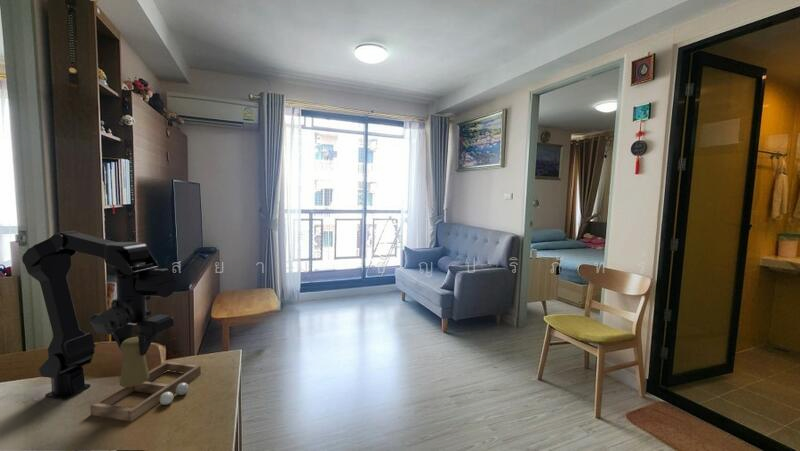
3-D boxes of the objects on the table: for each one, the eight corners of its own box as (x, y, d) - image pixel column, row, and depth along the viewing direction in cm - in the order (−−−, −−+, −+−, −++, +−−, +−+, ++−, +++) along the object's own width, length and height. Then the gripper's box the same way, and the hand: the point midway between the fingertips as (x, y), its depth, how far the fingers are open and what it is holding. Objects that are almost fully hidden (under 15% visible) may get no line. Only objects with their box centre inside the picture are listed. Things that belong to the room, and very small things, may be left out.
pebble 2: (172, 396, 91) (172, 385, 90) (181, 390, 94) (181, 379, 93) (182, 397, 90) (182, 387, 90) (191, 391, 93) (191, 381, 93)
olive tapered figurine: (133, 388, 84) (131, 345, 83) (113, 384, 85) (111, 342, 84) (155, 375, 90) (154, 335, 89) (136, 372, 91) (135, 332, 90)
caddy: (90, 414, 82) (90, 404, 82) (166, 369, 104) (166, 361, 104) (131, 421, 81) (131, 411, 80) (200, 373, 102) (200, 365, 102)
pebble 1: (156, 406, 86) (156, 395, 86) (166, 399, 89) (166, 388, 89) (167, 408, 86) (166, 396, 86) (176, 401, 89) (176, 390, 89)
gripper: (64, 300, 79) (67, 364, 80) (133, 307, 76) (135, 374, 77) (112, 287, 90) (114, 344, 91) (174, 293, 87) (176, 352, 88)
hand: (133, 353), depth 87 cm, fingers closed on olive tapered figurine, 5 cm apart
